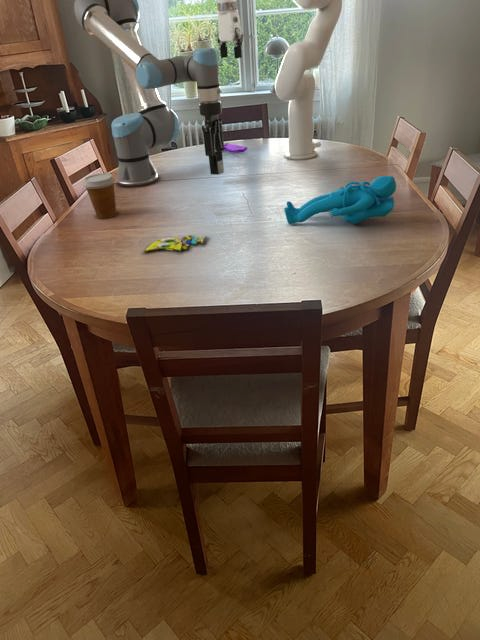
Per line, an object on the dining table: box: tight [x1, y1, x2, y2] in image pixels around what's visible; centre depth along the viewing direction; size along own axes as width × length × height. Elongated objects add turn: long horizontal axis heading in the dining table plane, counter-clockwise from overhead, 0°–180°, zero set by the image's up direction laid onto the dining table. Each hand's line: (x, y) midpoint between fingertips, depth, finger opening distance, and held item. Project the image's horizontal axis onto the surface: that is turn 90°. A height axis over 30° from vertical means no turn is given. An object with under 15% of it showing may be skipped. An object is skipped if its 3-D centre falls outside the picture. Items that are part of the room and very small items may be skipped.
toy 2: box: [283, 175, 397, 225], centre depth 132 cm, size 17×11×30 cm
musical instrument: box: [215, 142, 248, 157], centre depth 213 cm, size 24×2×20 cm
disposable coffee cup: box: [83, 172, 117, 219], centre depth 152 cm, size 10×10×12 cm
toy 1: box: [144, 234, 207, 254], centre depth 130 cm, size 10×1×15 cm
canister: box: [217, 158, 225, 175], centre depth 171 cm, size 5×5×4 cm
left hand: (217, 171), depth 172 cm, fingers closed on canister, 5 cm apart
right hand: (231, 57), depth 197 cm, fingers open, 9 cm apart
